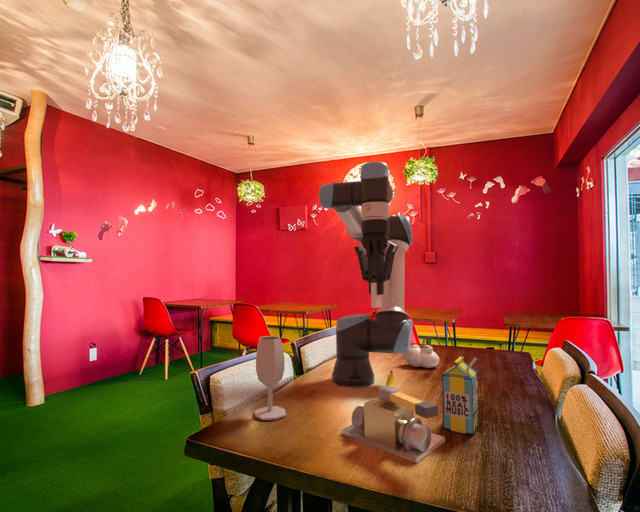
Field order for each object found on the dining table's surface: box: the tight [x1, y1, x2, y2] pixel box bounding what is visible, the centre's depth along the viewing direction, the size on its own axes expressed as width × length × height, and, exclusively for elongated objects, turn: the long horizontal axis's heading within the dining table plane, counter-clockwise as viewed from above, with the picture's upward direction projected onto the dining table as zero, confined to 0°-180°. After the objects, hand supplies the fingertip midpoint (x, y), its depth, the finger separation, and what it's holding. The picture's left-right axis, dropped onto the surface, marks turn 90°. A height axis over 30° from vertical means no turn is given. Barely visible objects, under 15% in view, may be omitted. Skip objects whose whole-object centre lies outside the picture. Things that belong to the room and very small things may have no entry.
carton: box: [441, 356, 479, 437], centre depth 92 cm, size 7×8×18 cm
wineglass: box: [254, 335, 287, 421], centre depth 101 cm, size 9×9×21 cm
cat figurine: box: [401, 344, 440, 369], centre depth 151 cm, size 10×8×15 cm
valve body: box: [340, 396, 446, 464], centre depth 87 cm, size 20×13×10 cm, turn 46°
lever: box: [378, 385, 439, 420], centre depth 80 cm, size 15×4×2 cm, turn 30°
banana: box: [385, 370, 396, 387], centre depth 112 cm, size 3×19×6 cm, turn 162°
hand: (376, 307), depth 99 cm, fingers closed
